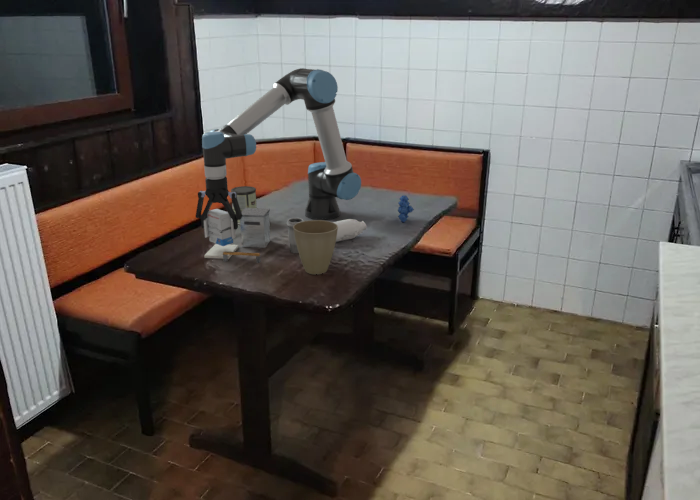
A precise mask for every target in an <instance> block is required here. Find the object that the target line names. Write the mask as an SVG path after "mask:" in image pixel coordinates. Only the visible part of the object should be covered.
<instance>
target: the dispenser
mask: <svg viewBox="0 0 700 500" xmlns="http://www.w3.org/2000/svg"><path fill="white" fill-rule="evenodd" d="M270 210H271V209H270V208H245V209H244V210H243V211H242V212H241V213H242V216H243V217H242V218H241V219H240V236H241V237H240V239H241V247H242V248H261V249H263V248H266V247H267V246H268V244H269V243H270V242H271V231H270V229H271V228H270V227H271V226H270ZM227 255H232V256H248V257H249V256H254V257H255V258H256V259H255V261H256V264H261V253H260V252H241V251H240V252H239V251H235V252H223V259H222V260H223V262H224V263H225V262H226V263H227V262H228V260H229V259H228V256H227Z"/></svg>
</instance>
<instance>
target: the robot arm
mask: <svg viewBox="0 0 700 500" xmlns="http://www.w3.org/2000/svg"><path fill="white" fill-rule="evenodd" d="M338 89H339V87H338V83H337V80H336V78H335V77H334V75H333V74H332V73H330V72H329V71H325V70H323V69H318V68H317V69H313V68H312V69H311V68H304V67H303V68H296V69H294V70H292V71H290V72H288V73H287V74H285V75H283V76H282V77H281V78H279V79H278V80H276V81H275V82H274V83H273V84H272V88H271V89H269V90H268V91H267V92H266V93H264V94H263V95H262V96H261V97H260V98H258V99H257V100H256V101H254V102H253V103H252V104H251V105H249V106H248V107H247V108H245V109H244V110H243V111H241V112H240V113H239V114H238V115H236V116H235V117H234V118H233V119H231V120H230V121H229V122H227V123H226V124H225V125H223V126H222V127H220V129H218V128H216V129H211V130H210V131H208V132H205V133H203V134H202V137H201V139H202V140H201V144H202V145H201V148H202V153H203V154H202V156H203V164H204V165H203V168H204V177H205V179H204V180H205V190H200V191H198V192H197V206H196V211H195V218H196V219H199V220H200V222H201V228H202V229H203V230H204V238H209V229H208V220H207V212H208V211H209V210H211V207H212V205H213V204H216V203H218V204H222V206H223V207H224V208H225V210H226V212H228V213H229V215H230V217H231V233H232V239H233V240H234V239H235V238H236V237H237V230H238V228H239V224H238V220H240V219H241V218H242V217H243V216H242V213H241V210H240V207H239V204H238V200H237V192H231V191H229V189H228V177H227V175H228V174H227V159H232V158H241V157H247V156H252V155H254V154H255V152H256V150H257V142H256V139H255V137H254V136H253V135H252V134H249V133H251V131H253V130H254V129H255V128H256V127H257V126H259V125H260V124H262V122H264V121H266V120H267V119H268V118H269V117H271V116H272V115H273V114H274V113H276V112H277V111H278V110H280V109H281V108H282V107H283V106H289V105H291V103H293V102H294V101H298V100H303V102H304V105H305V109H306V110H307V111H308V112H310V113H311V115H312V119H313V122H314V123H313V124H314V125H315V126H314V127H315V129H316V133H317V134H316V135H317V137H318V140H319V141H318V142H319V144H320V148H321V152H322V155H323V158H324V161H321V162H320V161H319V162H313V163H311V164H309V165H308V168H307V176H308V177H307V179H308V181H307V182H308V185H307V186H308V199H307V203H306V206H305V209H304V210H305V211H304V214H305V217H307V218H309V219H311V220H331V219H335V218H337V217H339V216H340V207H339V204H338V200H345V201H348V200H349V201H351V200H352V199H354V198H355V197H356V196H357V195H358V194H359V192H360V191H361V187H362V177H361V176H360V175H359V174H358V173H357V172H354V170H353V169H354V168H353V165H352V163H351V162H350V161H348V160H347V156H346V153H345V150H344V144H343V141H342V137H341V133H340V129H339V126H338V122H337V119H336V114H335V110H334V105H335V103H336V97H337V93H338V92H339V91H338ZM205 197H207V198H208V200H207V202H206V205H205V207H204V210H203V206H204V200H205ZM228 197H229V198H230V199H231V203H230V201H229V199H228ZM337 199H338V200H337ZM232 203H233V206H234V210H235V212H234V210H233V206H232ZM202 211H203V212H202ZM235 213H236V214H235Z"/></svg>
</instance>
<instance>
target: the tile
mask: <svg viewBox="0 0 700 500" xmlns="http://www.w3.org/2000/svg"><path fill="white" fill-rule="evenodd" d="M238 249H239V244H228V245H225V246H221V245H218V244H216V243H214V245H213V246H212V247H211V248H210V249H209V250H208V251H207V252H206V253H205V254H204V259H219V260H223V252H237V250H238ZM227 256H228V260H229V259H230V258H231V257H232V256H233V255H227Z"/></svg>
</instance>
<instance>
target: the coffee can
mask: <svg viewBox="0 0 700 500" xmlns="http://www.w3.org/2000/svg"><path fill="white" fill-rule="evenodd" d="M230 192H237V200H238V204H239V207H240V210H241V212H242V211H243V210H244V209H245V208H257V207H258V206H257V194H256V193H257V188H256V187H254V186H248V185H244V186H243V185H242V186H236V187H233V188H231V190H230ZM231 207H232V209H233V210H234V206H233V203H232V202H231ZM234 212H235V210H234ZM235 214H236V213H235ZM239 225H240V220H238V226H239Z"/></svg>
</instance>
